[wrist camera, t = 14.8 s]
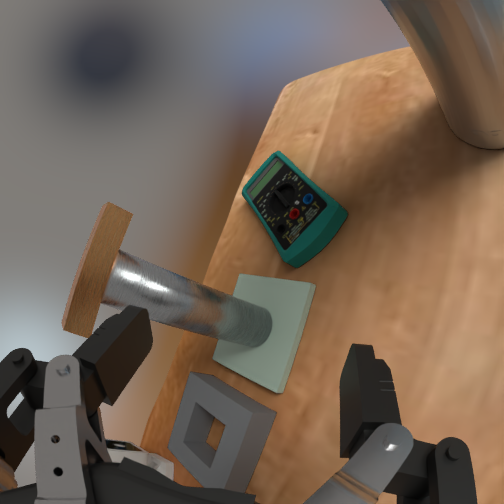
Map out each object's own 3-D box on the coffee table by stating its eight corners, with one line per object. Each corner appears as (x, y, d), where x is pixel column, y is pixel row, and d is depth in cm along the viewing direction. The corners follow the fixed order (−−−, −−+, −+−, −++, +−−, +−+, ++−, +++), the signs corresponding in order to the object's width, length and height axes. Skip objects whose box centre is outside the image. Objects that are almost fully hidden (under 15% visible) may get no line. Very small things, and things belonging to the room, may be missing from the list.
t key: (256, 280, 30) (100, 206, 20) (285, 284, 27) (111, 199, 17) (230, 364, 28) (60, 319, 18) (256, 377, 25) (64, 334, 15)
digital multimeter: (301, 275, 28) (282, 265, 26) (252, 200, 39) (236, 189, 37) (355, 219, 26) (340, 204, 24) (289, 159, 36) (274, 146, 35)
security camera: (176, 453, 30) (101, 449, 23) (174, 498, 26) (102, 498, 20) (154, 443, 34) (88, 435, 28) (152, 483, 30) (88, 480, 24)
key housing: (212, 375, 31) (190, 371, 29) (276, 412, 23) (252, 413, 21) (189, 447, 28) (167, 447, 27) (242, 496, 21) (218, 501, 19)
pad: (244, 275, 33) (239, 273, 33) (316, 285, 26) (311, 282, 25) (217, 360, 31) (212, 359, 30) (282, 393, 23) (276, 392, 23)
